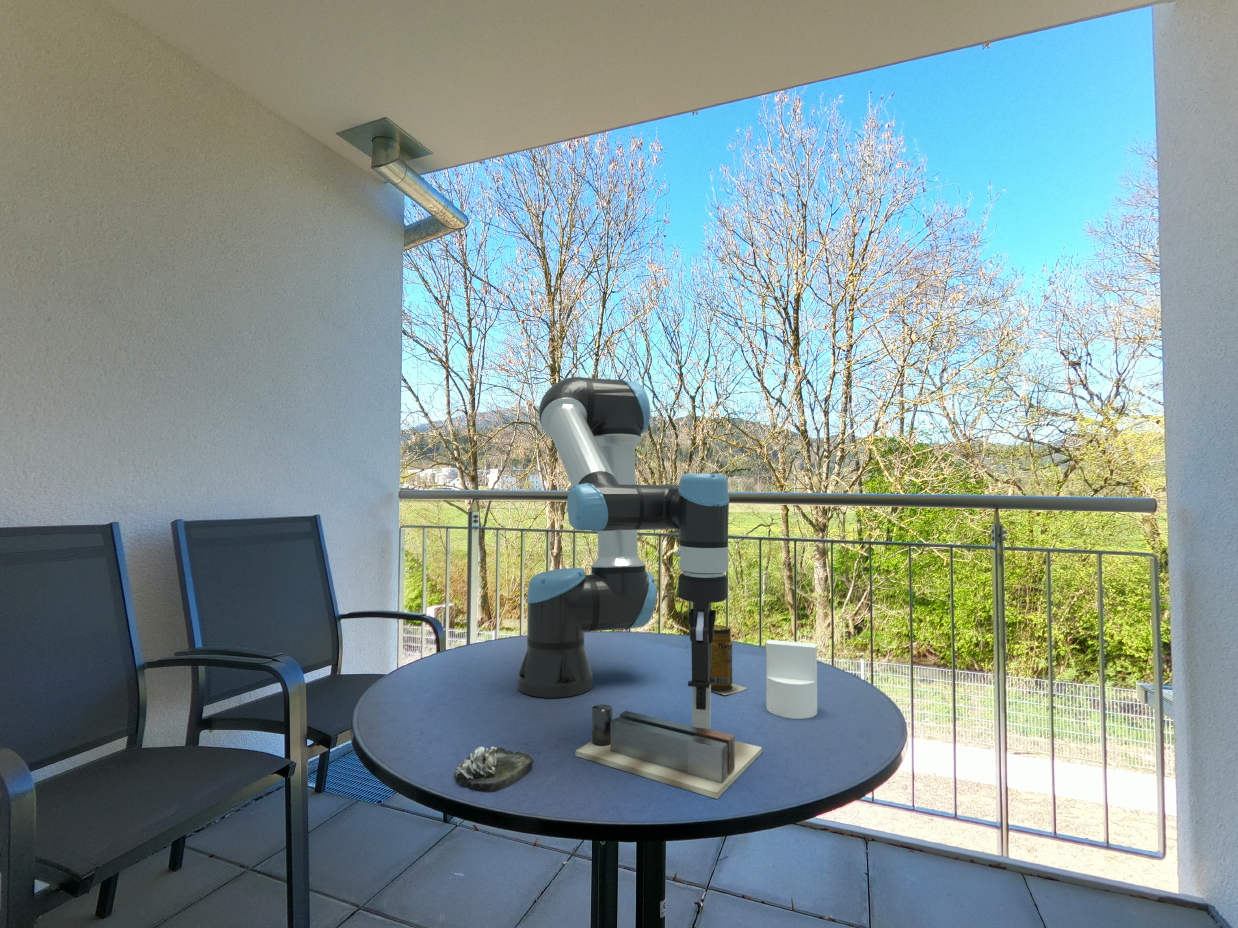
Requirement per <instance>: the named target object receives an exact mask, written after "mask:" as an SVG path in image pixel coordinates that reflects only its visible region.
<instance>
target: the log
mask: <svg viewBox="0 0 1238 928" xmlns="http://www.w3.org/2000/svg"><path fill="white" fill-rule="evenodd" d="M469 754H470V755H469V756H466V757H465V758H464V759H463V760H462V762H461V763H459V764H458V766H456V768H455V769H454V772H453V777H454V780H455V781H457V782H458V783H459V784H460V785H463V787H464V788H467V789H469V790H471V791H477V792H484V793H495V792H498V791H501V790H504V789H505V788H507V787H509V786H511V785H513V784H515V783H516V782H518V781H519V780H520V779H522V778H523V777H525V776H526V775H527V774H528V773H529V771H530V770H531V766H532V765H533V763H534V759H533V758H532V756H531V754H530V753H527V752H521V751H520V750H516V751H512V750H506V749H505V747H501V746H500V747H499V746H498V747H495V746H491V747H490V748H487V747H486V748H485V747H484V746H477V748H476V747H475V748H474V753H473V752H470V753H469Z"/></svg>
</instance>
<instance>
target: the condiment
mask: <svg viewBox="0 0 1238 928" xmlns="http://www.w3.org/2000/svg"><path fill="white" fill-rule="evenodd" d="M711 669H712V672H711V675H710V676H711V677H715V683H710V684H711V693H715V694H718V695H720V694H721V695H723V696H727V695H733V694H736V693H739V692H741V691H745V690H748V687H745V686H742V685H738V684H736V683H735V684H734V683H733V642H732V640H731V628H730V627H729V626H726V625H720V624H714V637H713V642H712V652H711Z"/></svg>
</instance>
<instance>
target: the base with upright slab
mask: <svg viewBox="0 0 1238 928" xmlns="http://www.w3.org/2000/svg"><path fill="white" fill-rule="evenodd" d="M765 647H766V648H765V650H766V651H765V654H766V655H765V661H766V662H765V669H766V671H765V674H766V675H765V677H766V678H765V685H766V686H765V687H766V688H765V690H766V691H765V692H766V693H765V694H766V695H765V698H766V699H765V700H766V702H765V704H766V710H767V711H768V712H769V713H771V714H773V715H776V716H778V717H781V718H785V719H786V718H787V719H792V720H794V719H796V720H798V719H799V720H803V719H805V720H806V719H811V718H813V717H815V716H817V714H818V648H817V647H818V645H817V643H813V642H812V643H811V642H801V641H800V642H799V641H790V640H789V641H787V640H778V639H767V640H766V642H765Z"/></svg>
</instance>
